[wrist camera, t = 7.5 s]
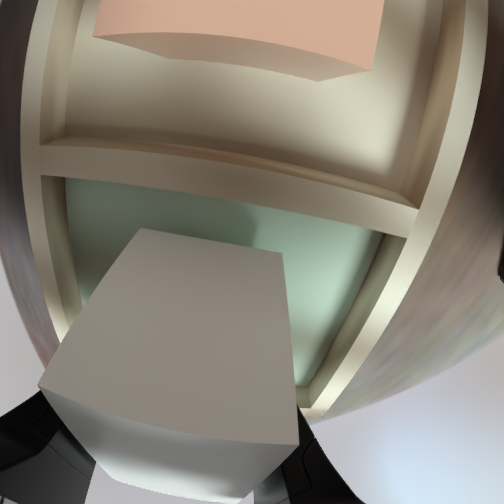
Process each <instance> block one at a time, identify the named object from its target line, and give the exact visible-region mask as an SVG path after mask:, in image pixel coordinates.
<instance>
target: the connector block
mask: <svg viewBox="0 0 504 504" xmlns="http://www.w3.org/2000/svg"><path fill="white" fill-rule="evenodd" d="M38 387H39V388H40V390H41V391H42V393H43V394H44V396H45V397H46V399H47V400H48V402H49V403H50V405H51V406H52V408H53V409H54V410H55V412H56V413H57V415H58V416H59V417H60V419H61V420H62V421H63V423H64V424H65V425H66V426H67V428H68V429H69V430H70V432H71V433H72V434H73V435H74V437H75V438H76V439H77V440H78V441H79V443H80V444H81V445H82V446H83V447H84V448H85V450H86V451H87V452H88V453H89V454H90V455H91V456H92V457H93V459H94V460H95V461H96V462H97V463H98V464H99V465H100V466H101V467H102V468H103V469H104V470H105V471H106V472H107V473H108V474H109V475H110V476H111V477H112V478H113V479H114V480H117V481H120V482H123V483H126V484H130V485H133V486H137V487H140V488H144V489H148V490H152V491H156V492H161V493H165V494H170V495H174V496H179V497H185V498H191V499H197V500H203V501H211V502H219V503H229V504H237V503H238V502H240V501H241V500H242V499H243V498H244V497H246V496H247V495H248V494H249V493H250V492H251V491H252V490H254V489H255V488H256V487H257V486H258V485H259V484H260V483H261V482H262V481H264V480H265V479H266V478H267V477H268V476H269V475H270V474H271V473H272V472H273V471H274V470H275V469H276V468H277V467H278V466H279V465H280V464H281V463H282V462H283V461H284V460H285V459H286V458H287V457H288V456H289V455H290V454H291V453H292V452H293V451H294V450H295V449H296V448H297V447H298V446H299V433H298V418H297V404H296V390H295V378H294V366H293V354H292V343H291V332H290V322H289V311H288V302H287V292H286V282H285V273H284V264H283V255H282V253H280V252H274V251H268V250H263V249H257V248H252V247H246V246H241V245H235V244H229V243H224V242H218V241H213V240H207V239H201V238H196V237H190V236H184V235H179V234H173V233H167V232H162V231H156V230H150V229H144V228H140V229H139V230H138V232H137V233H136V234H135V236H134V237H133V238H132V239H131V241H130V242H129V243H128V245H127V246H126V247H125V249H124V250H123V251H122V253H121V254H120V255H119V257H118V258H117V259H116V261H115V262H114V263H113V265H112V266H111V267H110V269H109V270H108V272H107V273H106V274H105V276H104V277H103V279H102V280H101V282H100V283H99V284H98V286H97V287H96V289H95V290H94V292H93V293H92V295H91V296H90V298H89V299H88V301H87V302H86V304H85V305H84V307H83V308H82V310H81V311H80V313H79V314H78V316H77V317H76V319H75V321H74V322H73V324H72V325H71V327H70V329H69V330H68V332H67V333H66V335H65V337H64V338H63V340H62V342H61V343H60V345H59V347H58V349H57V350H56V352H55V354H54V355H53V357H52V359H51V361H50V362H49V364H48V366H47V368H46V370H45V372H44V374H43V375H42V377H41V379H40V381H39V383H38Z"/></svg>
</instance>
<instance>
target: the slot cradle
mask: <svg viewBox="0 0 504 504" xmlns="http://www.w3.org/2000/svg"><path fill="white" fill-rule="evenodd" d="M100 2H101V0H39V1H38V5H37V9H36V12H35V16H34V20H33V24H32V29H31V33H30V38H29V44H28V49H27V55H26V62H25V69H24V77H23V86H22V99H21V119H20V150H21V171H22V183H23V193H24V202H25V210H26V217H27V223H28V229H29V235H30V240H31V245H32V250H33V255H34V259H35V263H36V268H37V272H38V276H39V279H40V283H41V287H42V290H43V294H44V297H45V300H46V304H47V307H48V310H49V313H50V316H51V319H52V322H53V325H54V328H55V330H56V333H57V336H58V339H59V341H60V343H61V342H62V340H63V338H64V337H65V335H66V333H67V332H68V330H69V329H70V327H71V325H72V324H73V322H74V321H75V319H76V317H77V316H78V314H79V313H80V311H81V310H82V308H83V307H84V305H85V304H86V302H87V301H88V299H89V298H90V296H91V295H92V293H93V292H94V290H95V289H96V287H97V286H98V284H99V283H100V282H101V280H102V279H103V277H104V276H105V274H106V273H107V272H108V270H109V269H110V267H111V266H112V265H113V263H114V262H115V261H116V259H117V258H118V257H119V255H120V254H121V253H122V251H123V250H124V249H125V247H126V246H127V245H128V243H129V242H130V241H131V239H132V238H133V237H134V236H135V234H136V233H137V232H138V230H139V229H140V228H144V229H150V230H156V231H162V232H167V233H173V234H179V235H184V236H190V237H196V238H201V239H207V240H213V241H218V242H224V243H229V244H235V245H241V246H246V247H252V248H257V249H263V250H268V251H274V252H280V253H282V255H283V264H284V273H285V282H286V292H287V302H288V311H289V322H290V332H291V343H292V354H293V366H294V378H295V390H296V403H297V405H298V406H299V408H300V410H301V412H302V414H303V416H304V417H322V416H323V415H324V414H325V412H326V411H327V410H328V409H329V407H330V406H331V405H332V404H333V402H334V401H335V400H336V399H337V397H338V396H339V395H340V393H341V392H342V391H343V389H344V388H345V387H346V385H347V384H348V383H349V381H350V380H351V379H352V377H353V376H354V375H355V373H356V372H357V370H358V369H359V367H360V366H361V365H362V363H363V362H364V360H365V359H366V357H367V356H368V354H369V353H370V351H371V350H372V348H373V347H374V345H375V344H376V342H377V341H378V339H379V338H380V336H381V334H382V333H383V331H384V330H385V328H386V326H387V325H388V323H389V321H390V320H391V318H392V316H393V315H394V313H395V311H396V309H397V308H398V306H399V304H400V302H401V301H402V299H403V297H404V295H405V293H406V292H407V290H408V288H409V286H410V284H411V282H412V280H413V278H414V277H415V275H416V273H417V271H418V269H419V267H420V265H421V263H422V261H423V259H424V256H425V254H426V252H427V250H428V248H429V246H430V244H431V241H432V239H433V237H434V235H435V232H436V230H437V228H438V225H439V223H440V221H441V218H442V216H443V213H444V211H445V208H446V206H447V203H448V201H449V198H450V195H451V193H452V190H453V187H454V184H455V181H456V179H457V176H458V173H459V170H460V167H461V163H462V160H463V157H464V154H465V150H466V147H467V143H468V140H469V136H470V132H471V128H472V124H473V120H474V116H475V112H476V107H477V102H478V97H479V92H480V87H481V81H482V75H483V68H484V60H485V52H486V42H487V28H488V0H384V6H383V12H382V18H381V24H380V29H379V35H378V40H377V45H376V50H375V55H374V60H373V64H372V69H371V71H368V72H362V73H357V74H351V75H346V76H341V77H337V78H332V79H328V80H323V81H319V82H316V81H312V80H308V79H304V78H300V77H296V76H292V75H288V74H283V73H278V72H273V71H268V70H263V69H257V68H252V67H245V66H239V65H232V64H224V63H216V62H206V61H195V60H181V59H168V58H165V57H162V56H159V55H156V54H153V53H150V52H147V51H144V50H140V49H137V48H134V47H130V46H127V45H123V44H119V43H116V42H112V41H108V40H104V39H100V38H95V37H92V36H93V31H94V26H95V22H96V18H97V14H98V10H99V6H100Z"/></svg>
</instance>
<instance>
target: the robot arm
mask: <svg viewBox="0 0 504 504" xmlns="http://www.w3.org/2000/svg"><path fill="white" fill-rule="evenodd" d="M500 279H501V281H502V282H503V283H504V262H503V266H502V271H501V275H500ZM296 404H297V403H296ZM297 418H298V433H299V446H298V447H297V448H296V449H295V450H294V451H293V452H292V453H291V454H290V455H289V456H288V457H287V458H286V459H285V460H284V461H283V462H282V463H281V464H280V465H279V466H278V467H277V468H276V469H275V470H274V471H273V472H272V473H271V474H270V475H269V476H268V477H267V478H266V479H265V480H264V481H262V482H261V483H260V484H259V485H258V486H257V487H256V488H255V489H254V504H365V503H364V502H363V501H361V500H360V499H359V498H358V497H357V496H356V495H355V494H354V493H353V491H352V490H351V489H350V487H349V486H348V485H347V484H346V482H345V481H344V480H343V479H342V477H341V476H340V475H339V473H338V472H337V471H336V470H335V468H334V467H333V465H332V464H331V462H330V461H329V459H328V458H327V456H326V455H325V453H324V451H323V450H322V448H321V447H320V445H319V443H318V441H317V439H316V438H314V437H315V436H314V434H313V432H312V430H311V429H310V427H309V425H308V423H307V421H306V419H305V418H304V416H303V414H302V412H301V410H300V408H299V406H298V405H297ZM95 465H96V461H95V460H94V459H93V457H92V456H91V455H90V454H89V453H88V452H87V451H86V450H85V448H84V447H83V446H82V445H81V444H80V443H79V441H78V440H77V439H76V438H75V437H74V435H73V434H72V433H71V432H70V430H69V429H68V428H67V426H66V425H65V424H64V423H63V421H62V420H61V419H60V417H59V416H58V415H57V413H56V412H55V410H54V409H53V408H52V406H51V405H50V403H49V402H48V400H47V399H46V397H45V396H44V394H43V393H42V391H41V390H40V391H39V392H37V393H36V394H35V395H33V396H32V397H30V398H29V399H28V400H26V401H25V402H23V403H22V404H20V405H19V406H17V407H15V408H14V409H12V410H11V411H9V412H8V413H6V414H4V415H3V416H1V417H0V504H84V503H85V499H86V495H87V492H88V488H89V485H90V480H91V477H92V474H93V471H94V468H95Z"/></svg>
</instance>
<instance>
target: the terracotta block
mask: <svg viewBox="0 0 504 504" xmlns="http://www.w3.org/2000/svg"><path fill="white" fill-rule="evenodd" d="M383 6H384V0H101V2H100V6H99V10H98V14H97V18H96V22H95V26H94V31H93V36H92V37H95V38H100V39H104V40H108V41H112V42H116V43H119V44H123V45H127V46H130V47H134V48H137V49H140V50H144V51H147V52H150V53H153V54H156V55H159V56H162V57H165V58H168V59H181V60H195V61H206V62H216V63H224V64H232V65H239V66H245V67H252V68H257V69H263V70H268V71H273V72H278V73H283V74H288V75H292V76H296V77H300V78H304V79H308V80H312V81H316V82H319V81H323V80H328V79H332V78H337V77H341V76H346V75H351V74H357V73H362V72H368V71H371V69H372V64H373V60H374V55H375V50H376V45H377V40H378V35H379V29H380V24H381V18H382V12H383Z"/></svg>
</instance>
